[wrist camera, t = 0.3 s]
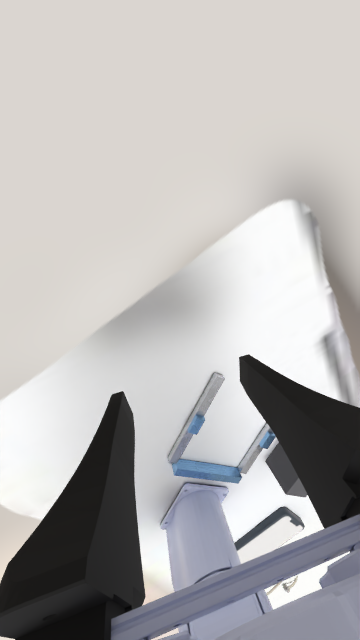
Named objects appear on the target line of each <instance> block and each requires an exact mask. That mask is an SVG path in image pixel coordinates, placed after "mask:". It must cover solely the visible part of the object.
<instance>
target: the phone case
mask: <svg viewBox="0 0 360 640" xmlns="http://www.w3.org/2000/svg"><path fill="white" fill-rule="evenodd" d="M303 529H304V524H303V522H302V520H301V519H300V518H299V517H298V516H297V515H295V514H294V513H293V512H291V511H290V510H289V509H287V508H286V507H281V508H279V509H278V510H276V511H275V512H274V513H272V514H271V515H270V516H269V517H267V518H266V519H265V520H263V521H262V522H261V523H260V524H258V525H257V526H256V527H255V528H253V529H252V530H251V531H249V532H248V533H247V534H246V535H244V536H243V537H242V538H240V539H239V540H238V541H237V542H235V543H234V544H235V547H236V550H237V553H238V556H239V559H240V562H241V564H243V563H245V562H247V561H250V560H252V559H254V558H257V557H259V556H261V555H264V554H266V553H269V552H271V551H273V550H276V549H277V548H278V547H280V546H281V545H283V544H284V543H285V542H287V541H288V540H289V539H291V538H292V537H294V536H295V535H296V534H298V533H299V532H301V531H302V530H303Z"/></svg>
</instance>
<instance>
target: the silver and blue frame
mask: <svg viewBox="0 0 360 640" xmlns="http://www.w3.org/2000/svg"><path fill="white" fill-rule="evenodd" d="M224 379H225V378H224V377H223V375H221V374H218V373H214V374H213V376H212V378H211V379H210V381H209V383H208V385H207V387H206V389H205V390H204V392H203V394H202V396H201V398H200V399H199V401H198V403H197V405H196V407H195V409H194V410H193V412H192V414H191V416H190V418H189V419H188V421H187V423H186V425H185V427H184V429H183V430H182V432H181V434H180V436H179V438H178V440H177V441H176V443H175V445H174V447H173V449H172V450H171V452H170V454H169V456H168V461H169V463H173V464H172V467H173V472H174V475H175V476H183V477H191V478H199V479H207V480H215V481H223V482H231V483H239V481H240V480H241V478H242V476H241V474H240V473H244V474H246V473H247V471H248V470H249V468H250V467H251V465H252V464H253V463H254V461H255V460H256V458H257V457H258V455H259V454H260V452H261V451H262V449H263V448H266V449H268V447H269V446H270V444H271V443H272V441H273V440H274V438H275V437H276V436H275V434H274V433H273V431H272V430H271V428H270V427H269V425H268V424H267V423H266V425H265V426H264V428H263V429H262V431H261V432H260V434H259V435H258V437H257V438H256V440H255V441H254V443H253V445H252V446H251V448H250V449H249V451H248V452H247V454H246V455H245V457H244V458H243V460H242V461H241V463H240V464H239V466H238V468H236V467H229V466H223V465H217V464H210V463H204V462H197V461H191V460H184V459H180V457H181V455H182V454H183V452H184V450H185V448H186V447H187V445H188V443H189V441H190V439H191V438H192V436H193V434H196V435H197V433H198V431H199V430H200V428H201V426H202V424H203V423H204V421H205V418H204V415H205V413H206V411H207V409H208V408H209V406H210V404H211V402H212V401H213V399H214V397H215V395H216V394H217V392H218V390H219V388H220V386H221V385H222V383H223V381H224Z"/></svg>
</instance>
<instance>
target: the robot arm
mask: <svg viewBox="0 0 360 640" xmlns="http://www.w3.org/2000/svg"><path fill="white" fill-rule="evenodd" d="M239 362H240V382H241V384H242V386H243V388H244V389H245V391H246V393H247V395H248V397H249V398H250V399H251V401H252V402H253V404H254V405H255V407H256V408H257V410H258V411H259V412H260V414H261V415H262V417H263V418H264V419H265V421H266V422H267V424H268V425H269V427H270V428H271V430H272V431H273V433H274V434H275V436H276V437H277V439H278V441H279V443H280V444H281V446H282V448H283V450H284V451H285V453H286V455H287V457H288V459H289V460H290V462H291V464H292V466H293V468H294V469H295V471H296V473H297V475H298V477H299V479H300V481H301V483H302V485H303V486H304V488H305V490H306V492H307V494H308V496H309V498H310V500H311V502H312V504H313V506H314V508H315V510H316V512H317V514H318V516H319V518H320V521H321V523H322V525H323V527H324V528H325V529H323V530H321V531H318V532H316V533H314V534H311V535H309V536H306V537H304V538H302V539H299V540H297V541H295V542H292V543H290V544H288V545H285V546H283V547H280V548H278V549H276V550H273V551H271V552H269V553H266V554H264V555H261V556H259V557H257V558H254V559H252V560H250V561H247V562H245V563H243V564H241V562H240V559H239V556H238V553H237V550H236V547H235V544H234V541H233V538H232V535H231V532H230V530H229V527H228V524H227V521H226V518H225V515H224V512H223V509H222V506H221V503H222V501H223V500H224V498H225V497H226V495H227V494H228V492H229V490H228V488H224V487H215V486H207V485H198V484H189V483H187V484H185V485H184V486H183V488H182V489H181V491H180V493H179V494H178V496H177V498H176V499H175V501H174V503H173V505H172V506H171V508H170V510H169V511H168V513H167V515H166V516H165V518H164V520H163V521H162V523H161V525H160V527H161V529H166V533H167V542H168V551H169V560H170V569H171V577H172V584H173V588H174V591H175V592H174V593H172V594H169V595H167V596H164V597H162V598H160V599H157V600H155V601H153V602H150V603H148V604H146V605H143V606H142V604H143V602H144V599H145V589H144V581H143V572H142V563H141V554H140V544H139V534H138V523H137V512H136V499H135V485H134V453H135V430H134V420H133V413H132V411H131V408H130V406H129V404H128V401H127V399H126V397H125V394H124V392H123V391H122V392H119V393H115V394H112V396H111V398H110V401H109V403H108V406H107V409H106V411H105V414H104V416H103V418H102V421H101V423H100V425H99V427H98V430H97V432H96V434H95V436H94V438H93V440H92V442H91V444H90V446H89V448H88V450H87V452H86V454H85V456H84V457H83V459H82V461H81V463H80V464H79V466H78V468H77V470H76V471H75V473H74V474H73V476H72V478H71V479H70V481H69V482H68V484H67V486H66V487H65V489H64V490H63V492H62V493H61V495H60V496H59V498H58V499H57V500H56V502H55V503H54V505H53V506H52V507H51V509H50V510H49V512H48V513H47V514H46V516H45V517H44V519H43V520H42V521H41V523H40V524H39V526H38V527H37V528H36V529H35V531H34V532H33V533H32V535H31V536H30V537H29V538H28V540H27V541H26V542H25V543H24V545H23V546H22V547H21V549H20V550H19V551H18V552H17V554H16V555H15V556H14V557H13V558H12V560H11V561H10V562H9V563H8V565H7V568H6V570H5V573H4V575H3V578H2V580H1V583H0V636H1V637H7V638H13V639H15V640H151V639H153V638H155V637H158V636H160V635H162V634H164V633H167V632H169V631H171V630H173V629H176V628H178V629H179V633H177V634H174V635H171V636H167V637H164V638H162V639H159V640H360V408H358V407H355V406H352V405H349V404H346V403H343V402H341V401H338V400H335V399H333V398H330V397H327V396H325V395H322V394H320V393H318V392H315V391H313V390H311V389H309V388H306V387H304V386H302V385H300V384H298V383H296V382H294V381H292V380H290V379H289V378H287V377H285V376H283V375H281V374H280V373H278V372H276V371H275V370H273V369H271V368H270V367H268V366H266V365H265V364H263V363H261V362H260V361H258V360H257V359H255V358H253V357H252V356H250V355H249V354H248V355H245V356H241V357H239ZM349 551H350V553H349V554H347V555H346V556H344V557H342V558H341V559H339V560H337V561H336V562H334V563H332V564H331V565H329V566H328V571H327V572H326V574H325V575H324V576H323V577H322V578H320V581H319V583H320V585H321V587H322V589H320V590H318V591H315V592H313V593H310V594H308V595H306V596H303V597H301V598H299V599H297V600H294V601H292V602H290V603H287V604H285V605H283V606H281V607H279V608H277V609H274V610H273V609H272V606H271V604H270V601H269V599H268V597H267V594H266V592H265V590H264V589H266V588H268V587H270V586H272V585H275V584H277V583H279V582H281V581H284V580H286V579H288V578H290V577H293V576H295V575H297V574H299V573H302V572H304V571H306V570H308V569H311V568H313V567H315V566H317V565H320V564H322V563H324V562H326V561H329V560H331V559H333V558H335V557H338V556H340V555H342V554H344V553H347V552H349Z"/></svg>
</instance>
